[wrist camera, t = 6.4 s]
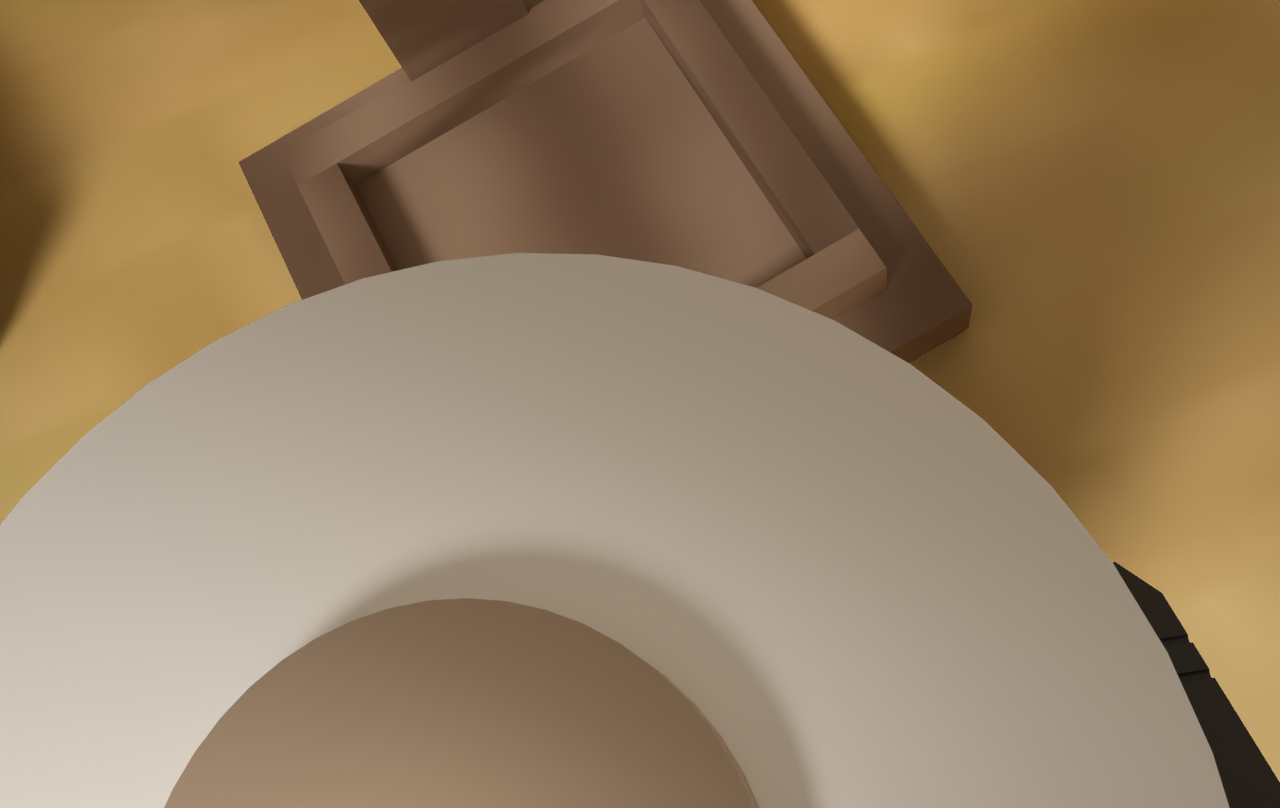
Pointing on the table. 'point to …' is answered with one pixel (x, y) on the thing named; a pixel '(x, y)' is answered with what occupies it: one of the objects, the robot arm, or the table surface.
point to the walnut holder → (603, 161)
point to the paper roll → (568, 572)
